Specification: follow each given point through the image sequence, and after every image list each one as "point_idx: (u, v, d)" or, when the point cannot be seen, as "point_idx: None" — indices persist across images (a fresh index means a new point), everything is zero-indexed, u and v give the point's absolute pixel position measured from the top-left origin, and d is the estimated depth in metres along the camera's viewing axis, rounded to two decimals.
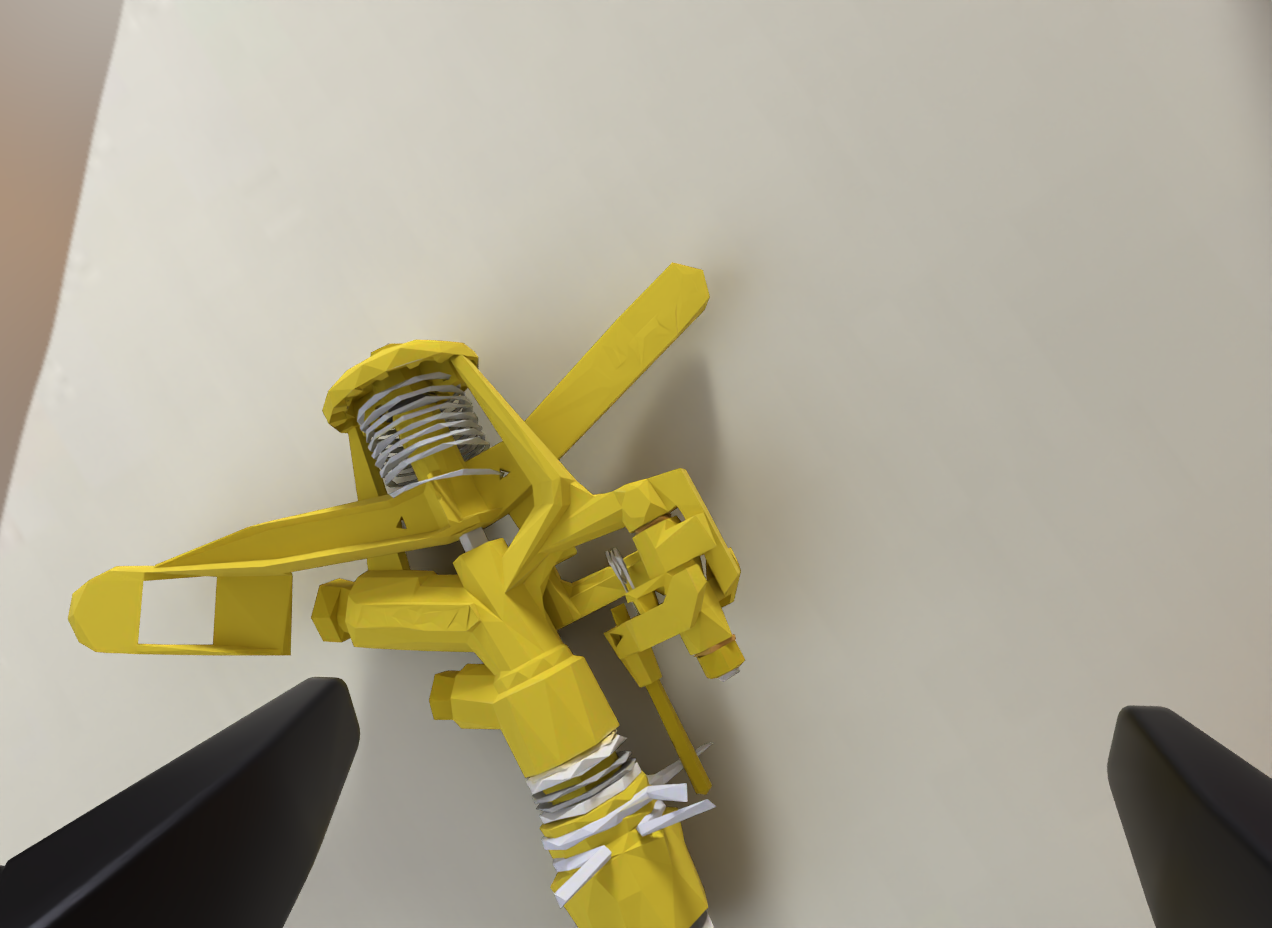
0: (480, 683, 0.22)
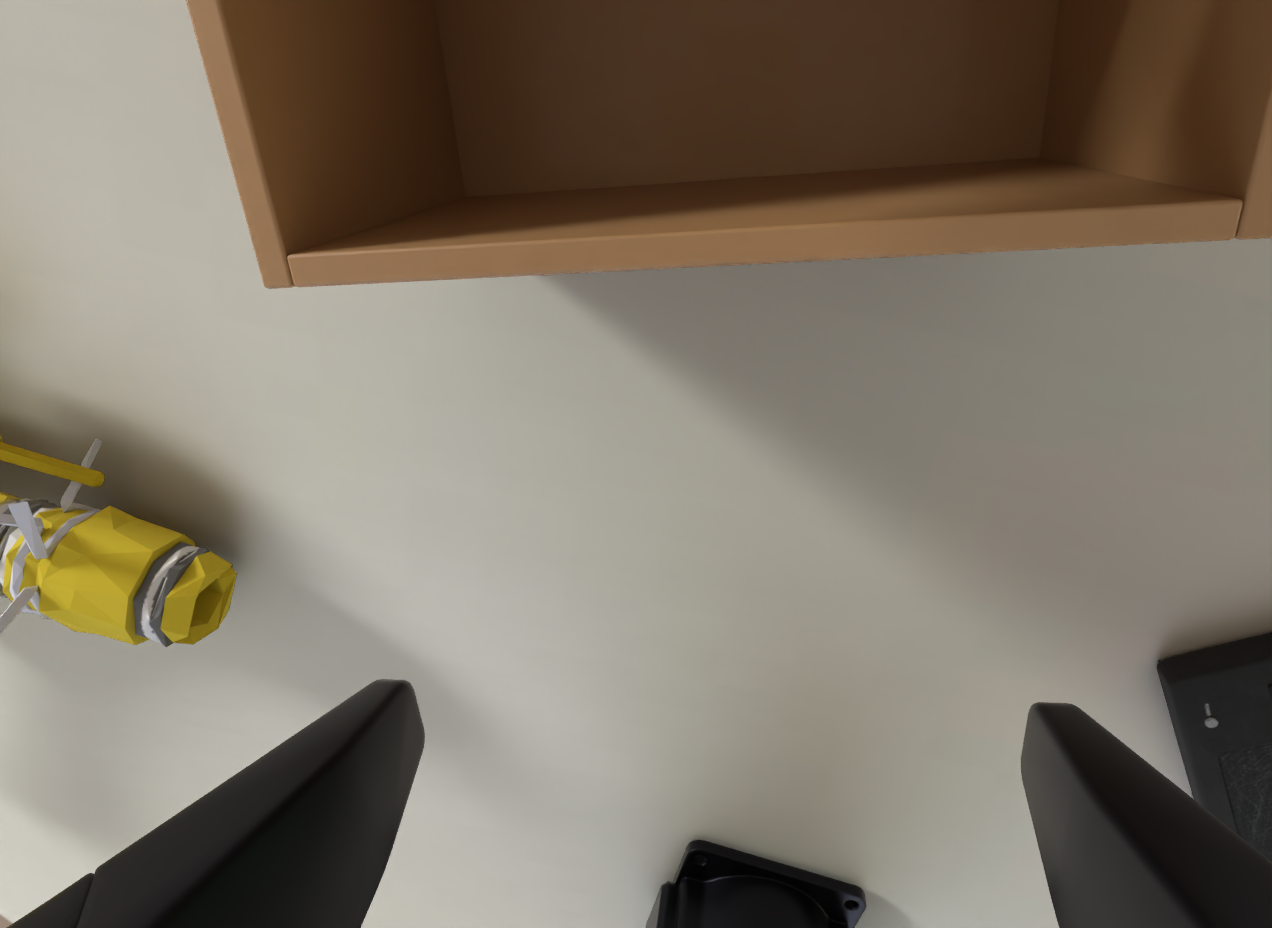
0: None
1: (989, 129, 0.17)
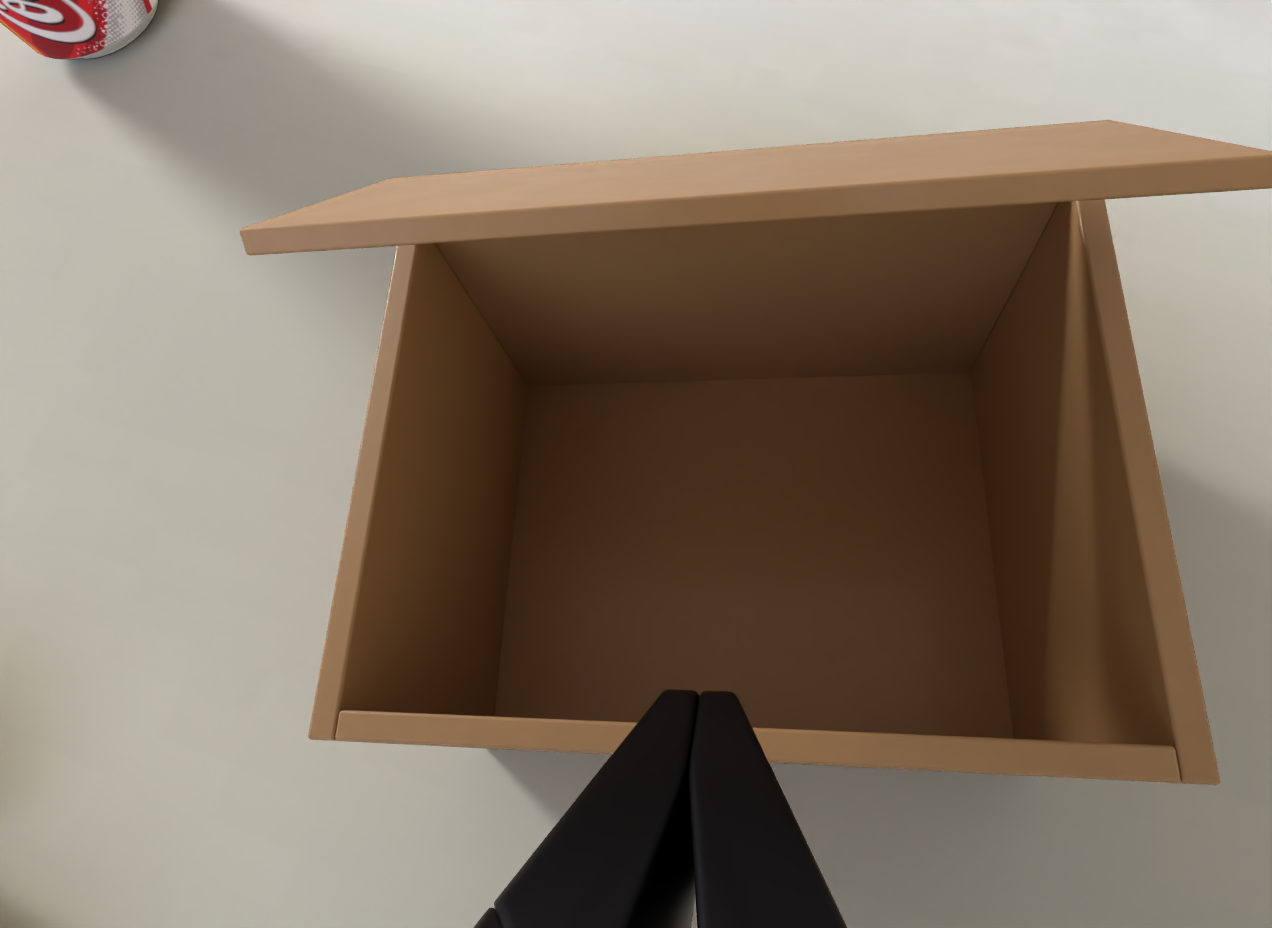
0: None
1: (964, 719, 0.19)
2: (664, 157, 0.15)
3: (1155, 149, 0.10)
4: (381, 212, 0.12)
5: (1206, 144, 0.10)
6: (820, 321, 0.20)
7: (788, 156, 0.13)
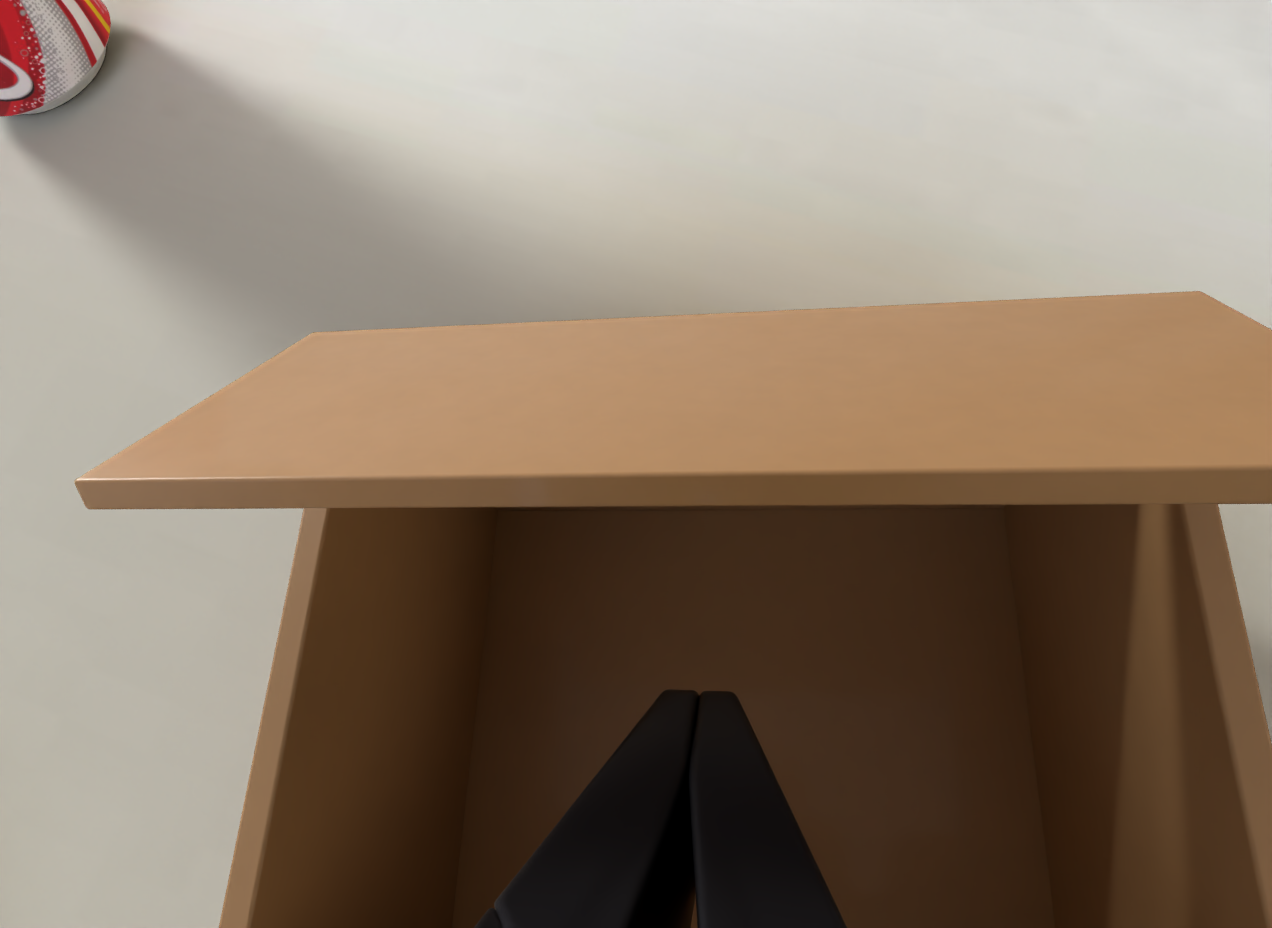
0: None
1: None
2: (644, 321, 0.12)
3: None
4: (263, 453, 0.09)
5: None
6: None
7: (797, 346, 0.10)
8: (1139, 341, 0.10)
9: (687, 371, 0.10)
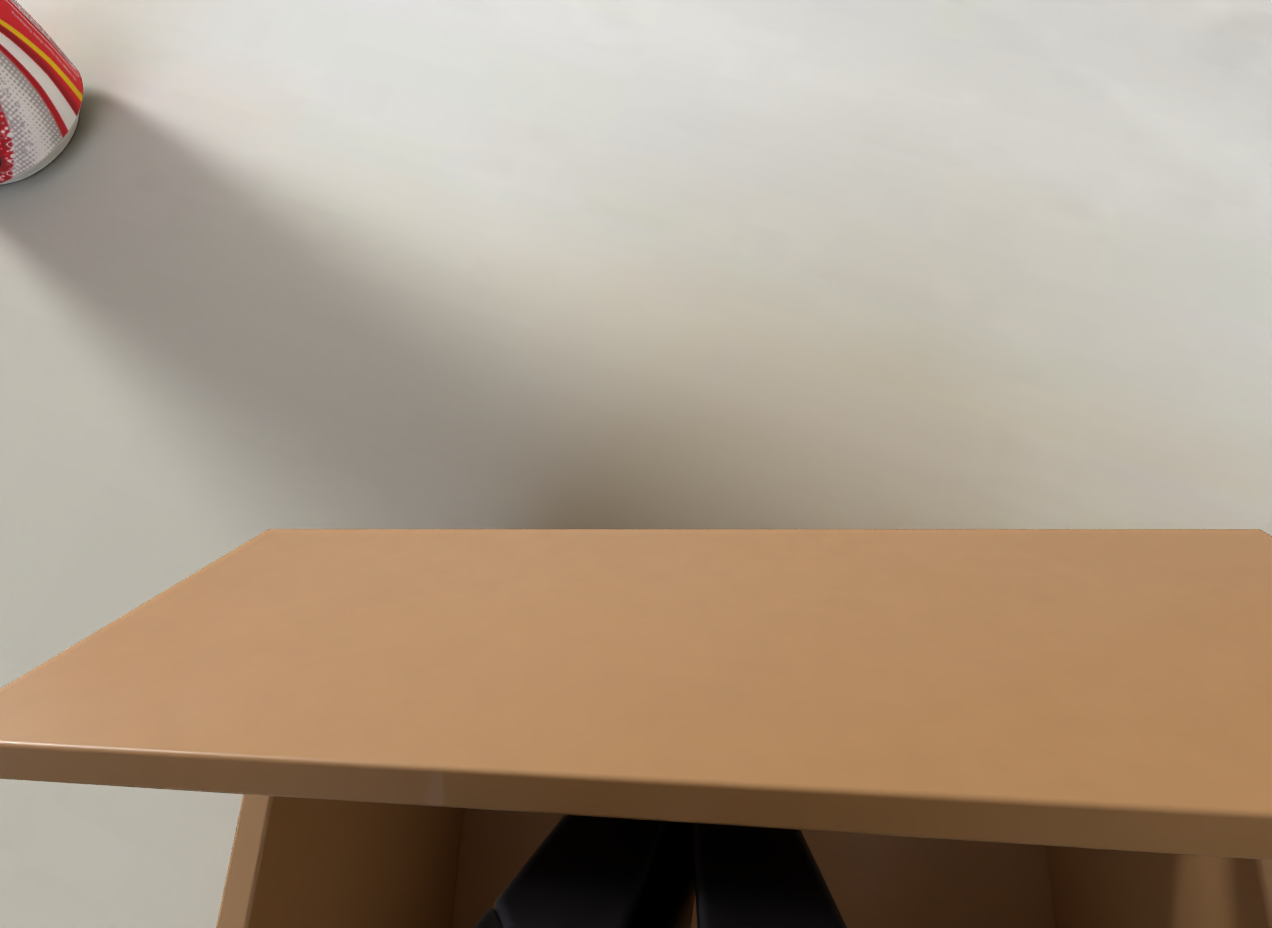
0: None
1: None
2: (632, 534, 0.11)
3: None
4: (156, 709, 0.07)
5: None
6: None
7: (806, 581, 0.09)
8: (1208, 598, 0.08)
9: (677, 611, 0.09)
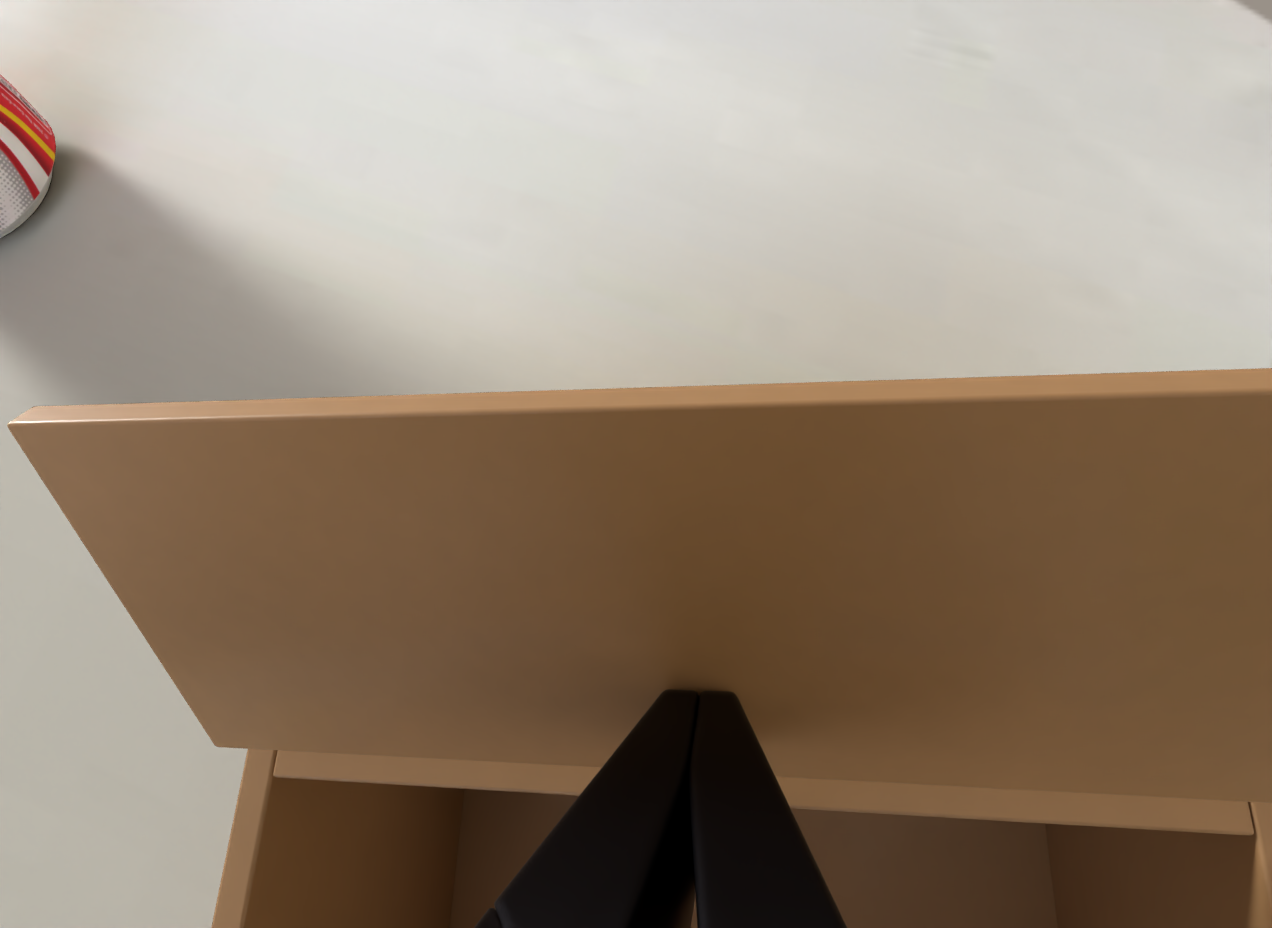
0: None
1: None
2: None
3: None
4: None
5: None
6: None
7: None
8: None
9: None
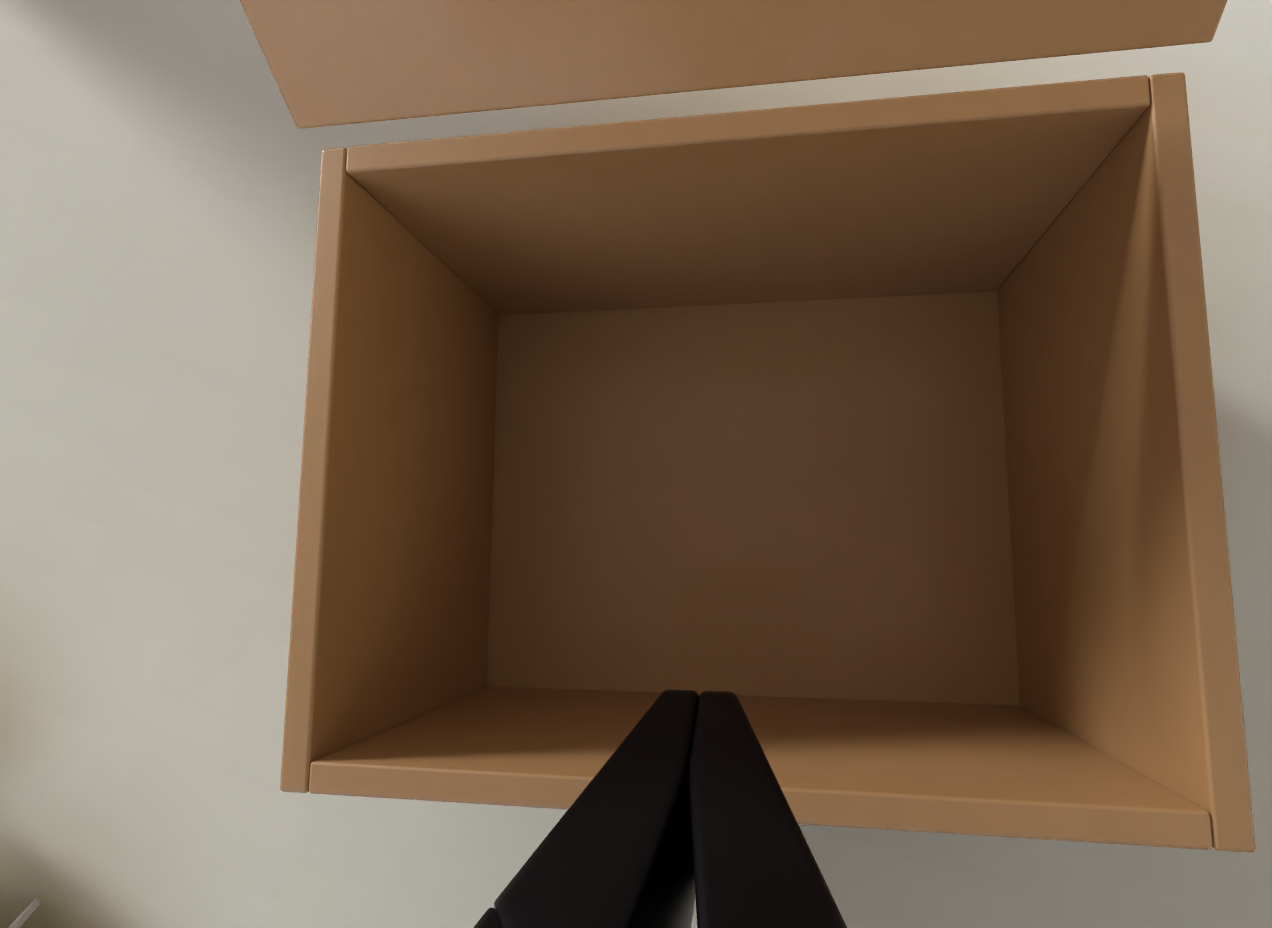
0: None
1: (969, 675, 0.18)
2: None
3: None
4: None
5: None
6: (828, 251, 0.17)
7: None
8: None
9: None
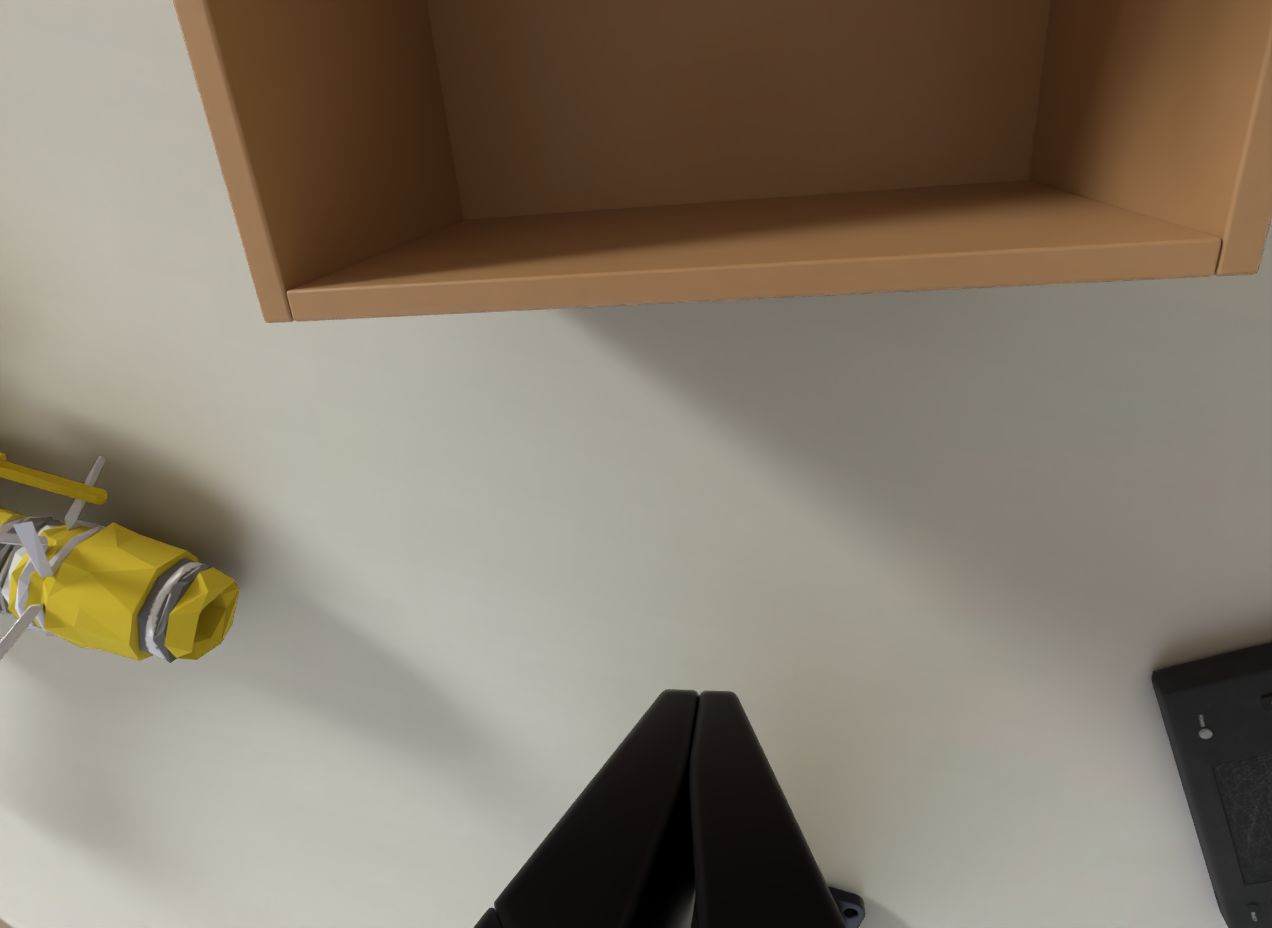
0: None
1: (979, 152, 0.17)
2: None
3: None
4: None
5: None
6: None
7: None
8: None
9: None
